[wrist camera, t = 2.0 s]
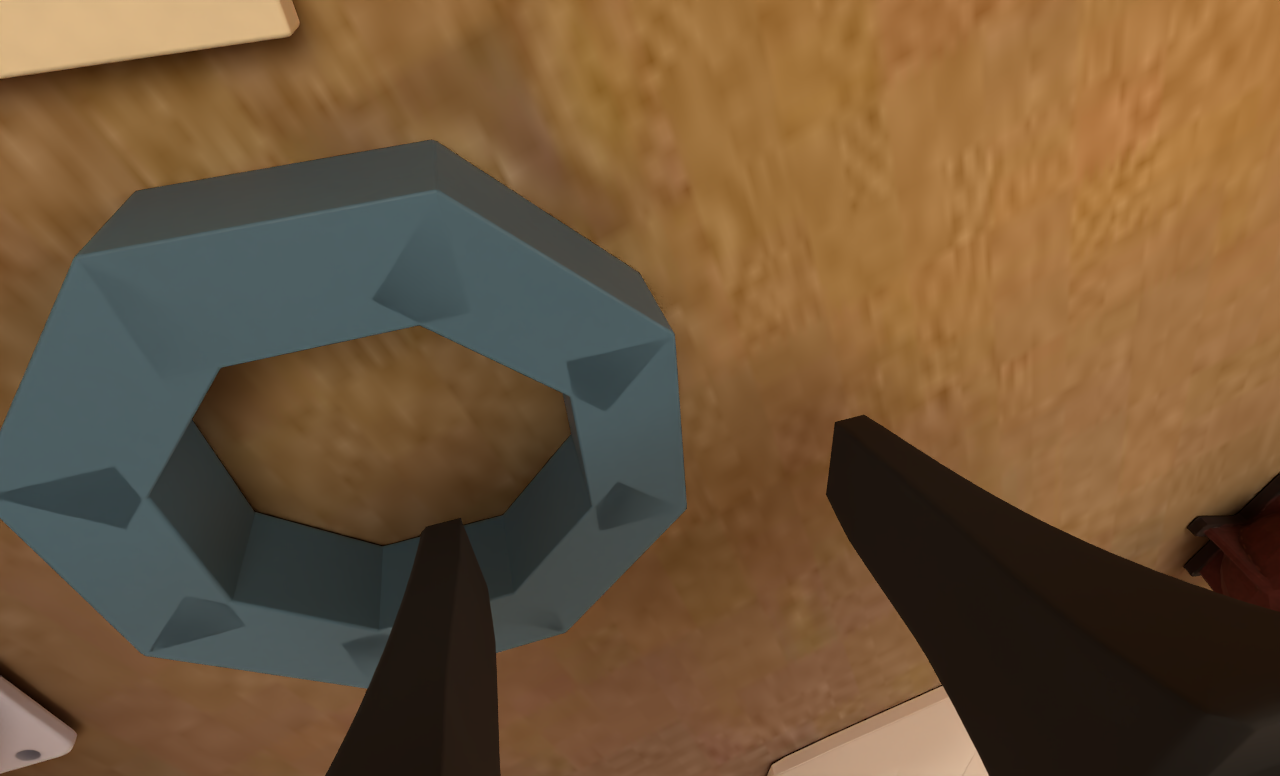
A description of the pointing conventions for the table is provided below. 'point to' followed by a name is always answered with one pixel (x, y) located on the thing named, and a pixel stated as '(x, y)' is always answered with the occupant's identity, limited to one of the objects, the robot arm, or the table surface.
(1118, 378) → the table surface
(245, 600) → the ring
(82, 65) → the peg stand
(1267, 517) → the mate gourd
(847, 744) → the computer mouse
